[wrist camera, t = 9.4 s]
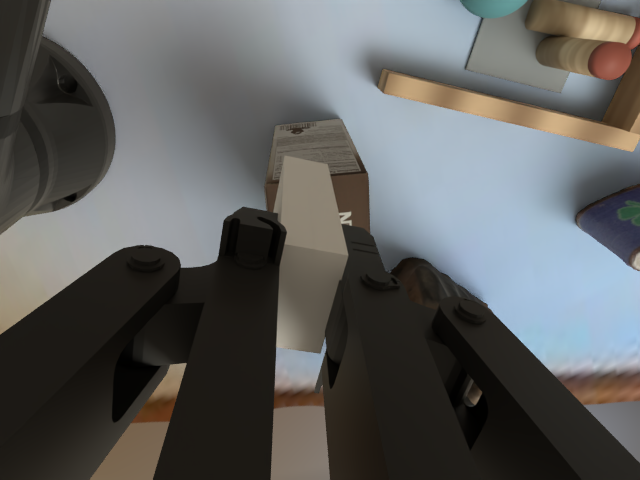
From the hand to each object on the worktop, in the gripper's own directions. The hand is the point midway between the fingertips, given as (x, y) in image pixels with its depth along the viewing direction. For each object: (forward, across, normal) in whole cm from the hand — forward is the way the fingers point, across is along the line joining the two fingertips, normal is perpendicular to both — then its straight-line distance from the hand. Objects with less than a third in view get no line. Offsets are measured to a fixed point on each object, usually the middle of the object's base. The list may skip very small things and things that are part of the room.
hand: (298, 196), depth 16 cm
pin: (+26, -20, -7) cm, 34 cm away
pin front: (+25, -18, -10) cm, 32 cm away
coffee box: (+27, -3, +7) cm, 28 cm away
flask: (+27, -34, +4) cm, 43 cm away
